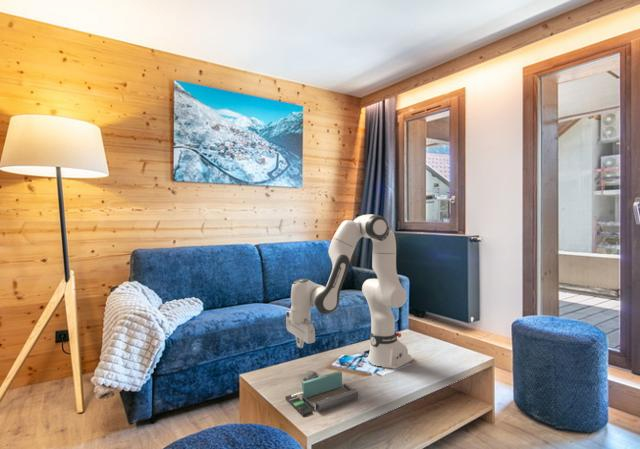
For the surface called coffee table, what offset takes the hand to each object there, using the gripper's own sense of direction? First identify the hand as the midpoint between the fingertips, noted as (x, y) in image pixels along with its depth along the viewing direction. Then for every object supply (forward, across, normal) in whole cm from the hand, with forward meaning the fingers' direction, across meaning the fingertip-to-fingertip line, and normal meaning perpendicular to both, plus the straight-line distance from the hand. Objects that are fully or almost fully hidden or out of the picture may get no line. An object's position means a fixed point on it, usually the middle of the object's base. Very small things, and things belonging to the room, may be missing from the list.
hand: (300, 346), depth 163 cm
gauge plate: (+12, -18, +2) cm, 22 cm away
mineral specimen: (+13, -10, -1) cm, 16 cm away
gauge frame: (+13, -22, +2) cm, 26 cm away
